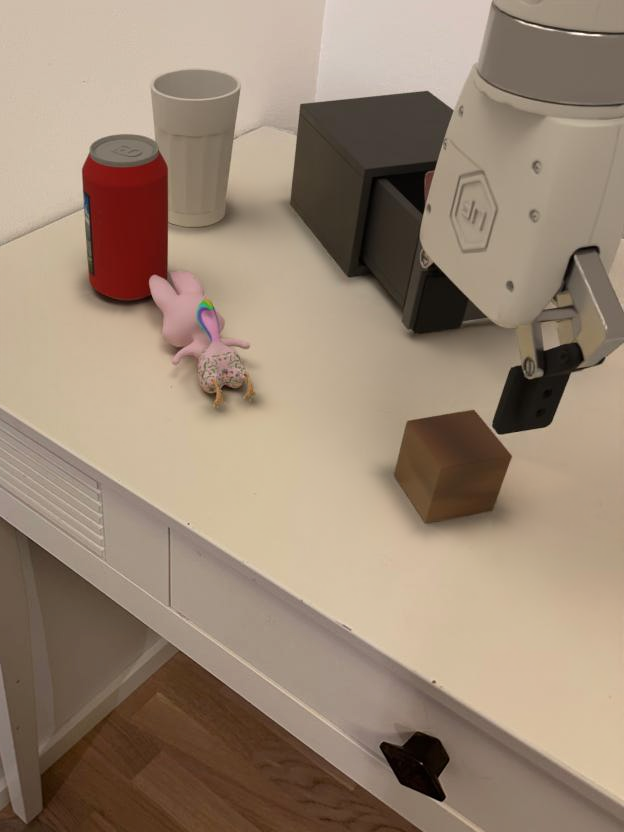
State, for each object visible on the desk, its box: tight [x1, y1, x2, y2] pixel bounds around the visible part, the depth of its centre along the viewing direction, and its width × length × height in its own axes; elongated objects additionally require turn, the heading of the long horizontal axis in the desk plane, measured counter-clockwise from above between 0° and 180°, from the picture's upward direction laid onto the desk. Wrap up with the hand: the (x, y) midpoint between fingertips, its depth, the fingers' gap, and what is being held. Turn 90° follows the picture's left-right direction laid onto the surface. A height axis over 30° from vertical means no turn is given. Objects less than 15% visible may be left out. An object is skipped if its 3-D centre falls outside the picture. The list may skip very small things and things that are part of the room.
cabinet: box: [289, 90, 454, 277], centre depth 79 cm, size 15×13×10 cm
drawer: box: [359, 170, 489, 330], centre depth 70 cm, size 19×11×8 cm, turn 13°
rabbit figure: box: [149, 270, 257, 410], centre depth 67 cm, size 6×6×15 cm
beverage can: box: [81, 133, 169, 302], centre depth 72 cm, size 7×7×12 cm
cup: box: [149, 67, 242, 228], centre depth 82 cm, size 8×8×12 cm
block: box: [393, 409, 513, 524], centre depth 55 cm, size 5×5×5 cm
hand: (474, 375), depth 50 cm, fingers open, 9 cm apart
